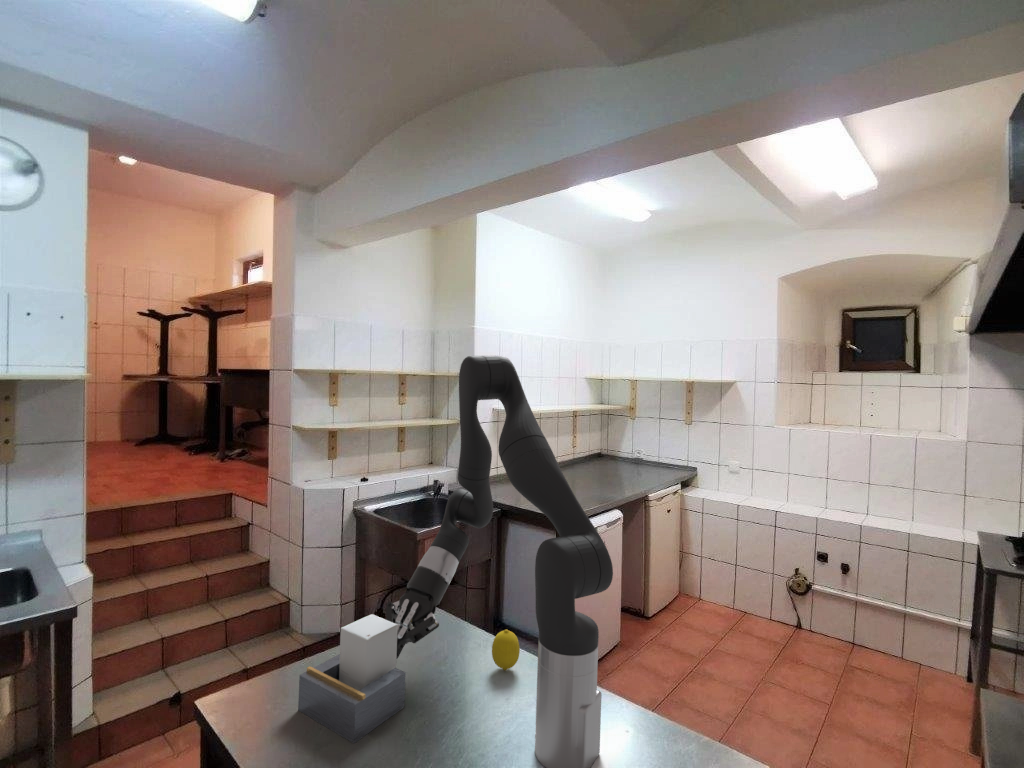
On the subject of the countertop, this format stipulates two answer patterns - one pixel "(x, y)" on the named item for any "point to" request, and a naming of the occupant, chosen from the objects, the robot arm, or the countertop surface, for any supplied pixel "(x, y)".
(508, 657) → the lemon
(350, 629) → the supplement box
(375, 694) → the cradle
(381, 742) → the countertop surface
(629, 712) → the countertop surface
